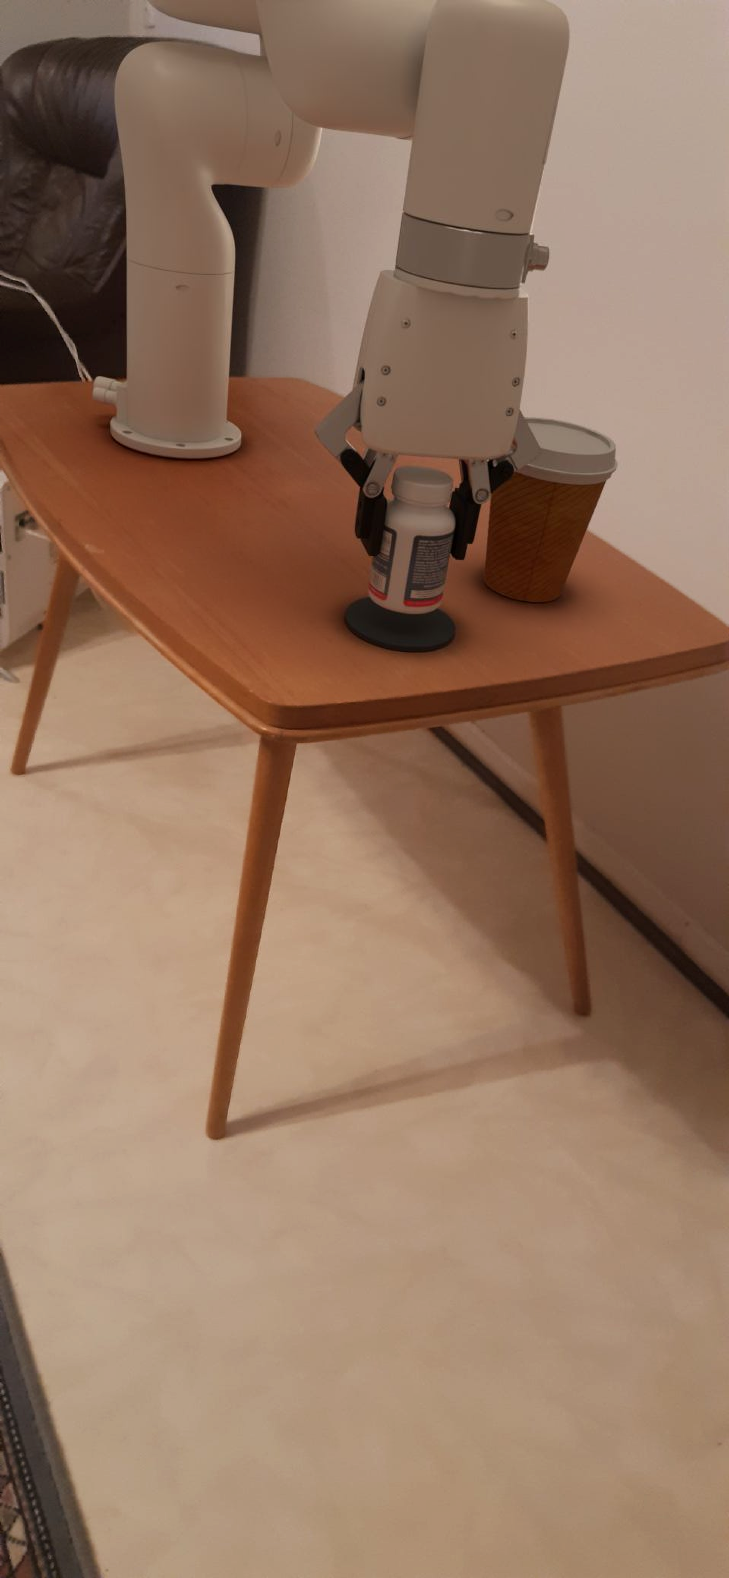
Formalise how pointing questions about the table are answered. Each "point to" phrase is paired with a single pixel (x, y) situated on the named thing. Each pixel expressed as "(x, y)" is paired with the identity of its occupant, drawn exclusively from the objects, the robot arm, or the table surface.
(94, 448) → the table surface
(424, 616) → the corner coaster
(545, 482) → the disposable coffee cup
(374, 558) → the pill bottle
